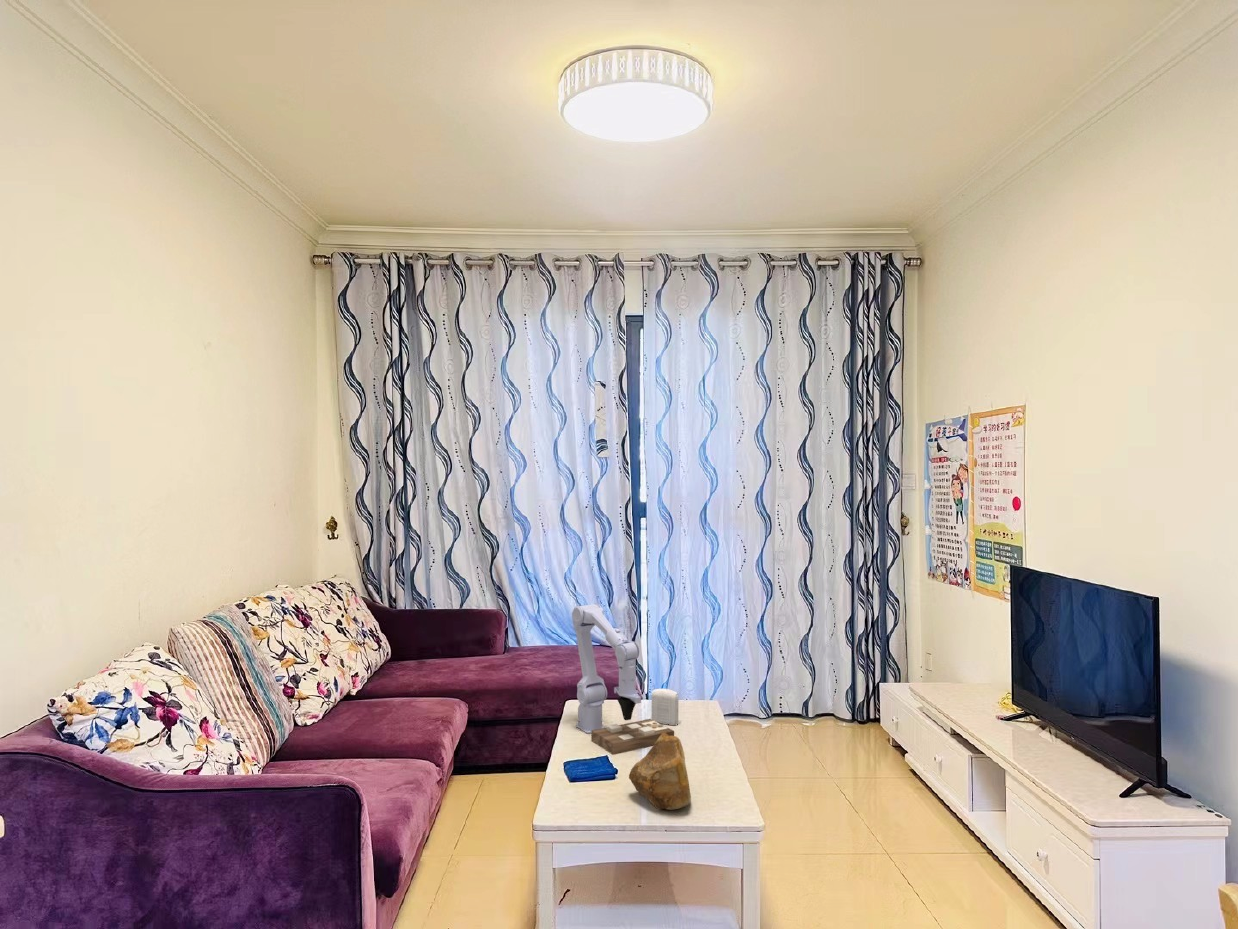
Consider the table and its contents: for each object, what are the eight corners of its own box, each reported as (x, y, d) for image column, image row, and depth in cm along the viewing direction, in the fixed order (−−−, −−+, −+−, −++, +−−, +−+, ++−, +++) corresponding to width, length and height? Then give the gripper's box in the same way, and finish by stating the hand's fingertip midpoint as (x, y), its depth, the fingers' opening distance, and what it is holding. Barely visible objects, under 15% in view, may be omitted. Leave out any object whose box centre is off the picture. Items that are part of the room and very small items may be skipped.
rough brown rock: (630, 782, 222) (625, 733, 222) (685, 777, 222) (681, 727, 222) (631, 821, 199) (626, 765, 198) (693, 815, 199) (688, 759, 198)
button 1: (606, 729, 257) (606, 725, 257) (616, 727, 259) (616, 723, 259) (612, 733, 253) (612, 729, 253) (622, 731, 255) (622, 727, 255)
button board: (591, 740, 255) (591, 729, 255) (650, 728, 267) (650, 718, 267) (613, 754, 242) (613, 742, 242) (674, 741, 254) (674, 730, 255)
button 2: (618, 740, 250) (618, 736, 250) (628, 738, 252) (628, 734, 252) (624, 744, 246) (624, 739, 246) (634, 741, 248) (634, 737, 248)
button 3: (626, 729, 261) (626, 725, 261) (635, 727, 263) (635, 723, 263) (632, 732, 257) (632, 728, 257) (642, 730, 259) (641, 726, 259)
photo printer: (680, 723, 274) (680, 689, 274) (676, 726, 270) (676, 692, 270) (653, 719, 278) (653, 686, 278) (649, 723, 274) (649, 689, 274)
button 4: (638, 732, 254) (638, 728, 254) (648, 730, 256) (648, 726, 256) (644, 736, 250) (644, 731, 250) (654, 733, 252) (654, 729, 252)
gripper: (648, 682, 247) (648, 723, 247) (626, 672, 260) (626, 711, 259) (630, 685, 243) (630, 727, 243) (608, 675, 256) (608, 715, 256)
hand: (627, 719), depth 251 cm, fingers closed
